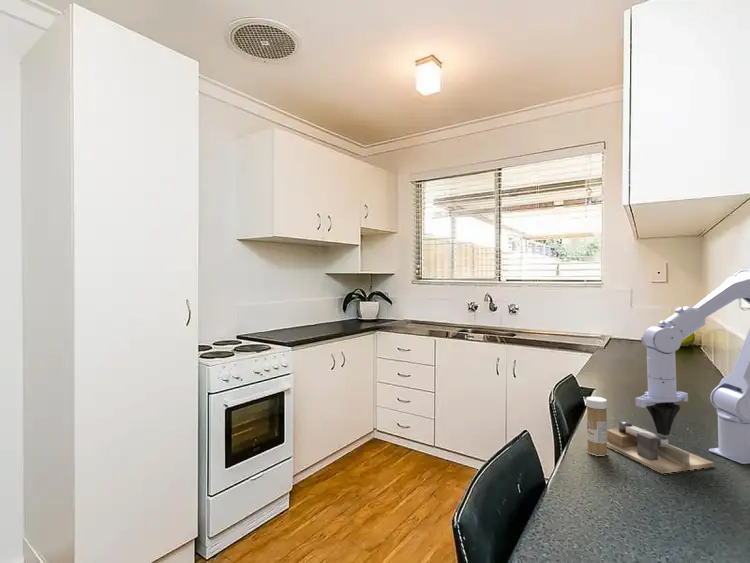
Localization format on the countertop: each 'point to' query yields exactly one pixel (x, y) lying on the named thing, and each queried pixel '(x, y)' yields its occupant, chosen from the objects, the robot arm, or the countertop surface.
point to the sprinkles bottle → (597, 425)
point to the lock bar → (633, 430)
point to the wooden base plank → (654, 452)
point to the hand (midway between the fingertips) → (663, 433)
